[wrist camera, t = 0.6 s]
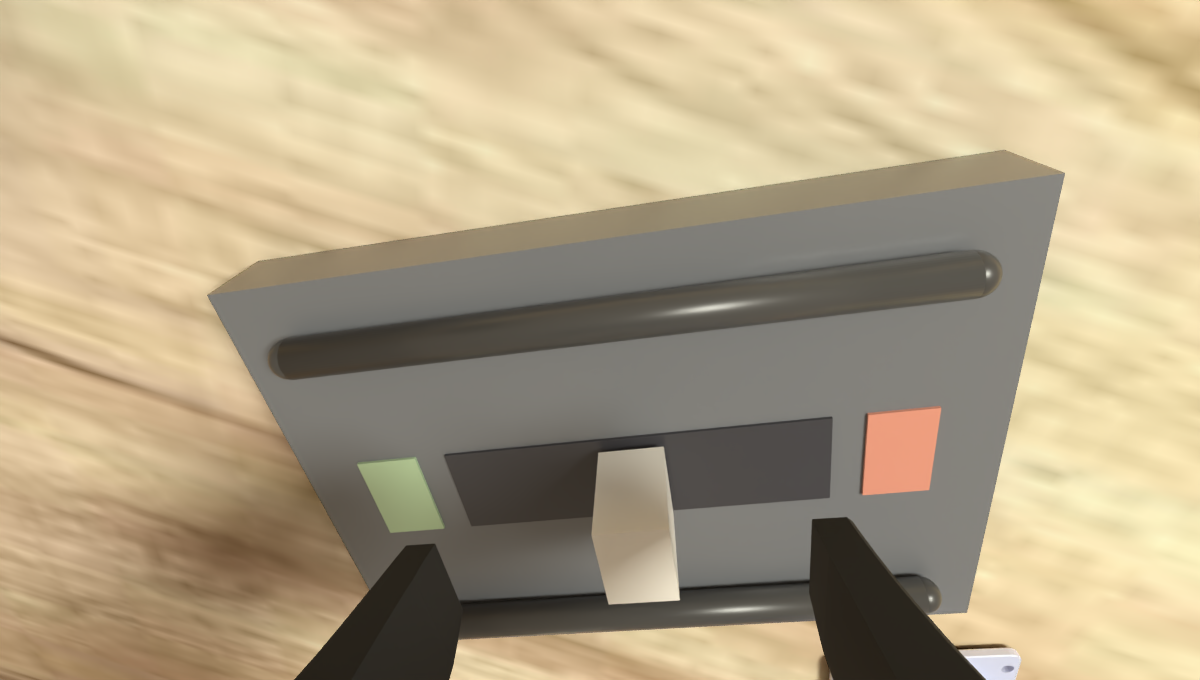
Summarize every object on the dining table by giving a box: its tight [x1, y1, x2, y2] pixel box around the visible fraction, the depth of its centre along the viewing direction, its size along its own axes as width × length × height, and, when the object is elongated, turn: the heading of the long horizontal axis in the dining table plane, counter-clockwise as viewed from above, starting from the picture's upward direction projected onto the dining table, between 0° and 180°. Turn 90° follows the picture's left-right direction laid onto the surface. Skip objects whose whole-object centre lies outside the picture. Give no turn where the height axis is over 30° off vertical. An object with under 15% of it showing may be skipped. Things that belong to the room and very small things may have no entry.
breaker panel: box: [207, 150, 1065, 640], centre depth 19 cm, size 16×22×4 cm
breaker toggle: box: [591, 447, 680, 605], centre depth 17 cm, size 3×2×3 cm
